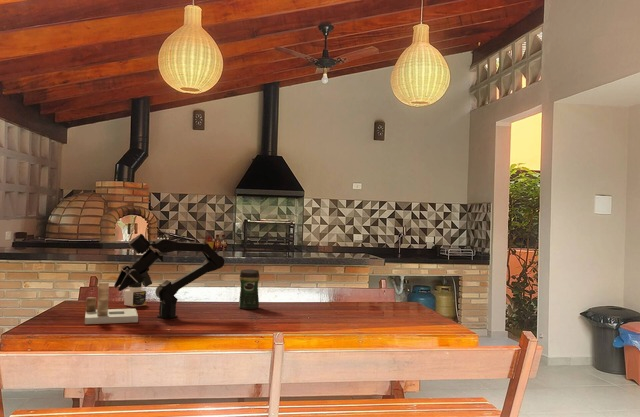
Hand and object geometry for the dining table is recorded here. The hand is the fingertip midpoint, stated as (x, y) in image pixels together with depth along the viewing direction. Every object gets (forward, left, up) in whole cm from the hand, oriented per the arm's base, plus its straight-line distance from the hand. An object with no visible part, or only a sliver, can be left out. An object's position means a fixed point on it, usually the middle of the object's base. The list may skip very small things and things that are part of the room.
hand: (116, 288), depth 230 cm
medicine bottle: (+21, -30, -13) cm, 39 cm away
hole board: (+4, -1, -13) cm, 14 cm away
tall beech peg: (+3, +4, -10) cm, 12 cm away
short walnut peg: (+13, +1, -10) cm, 17 cm away
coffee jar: (-25, -58, -13) cm, 65 cm away
